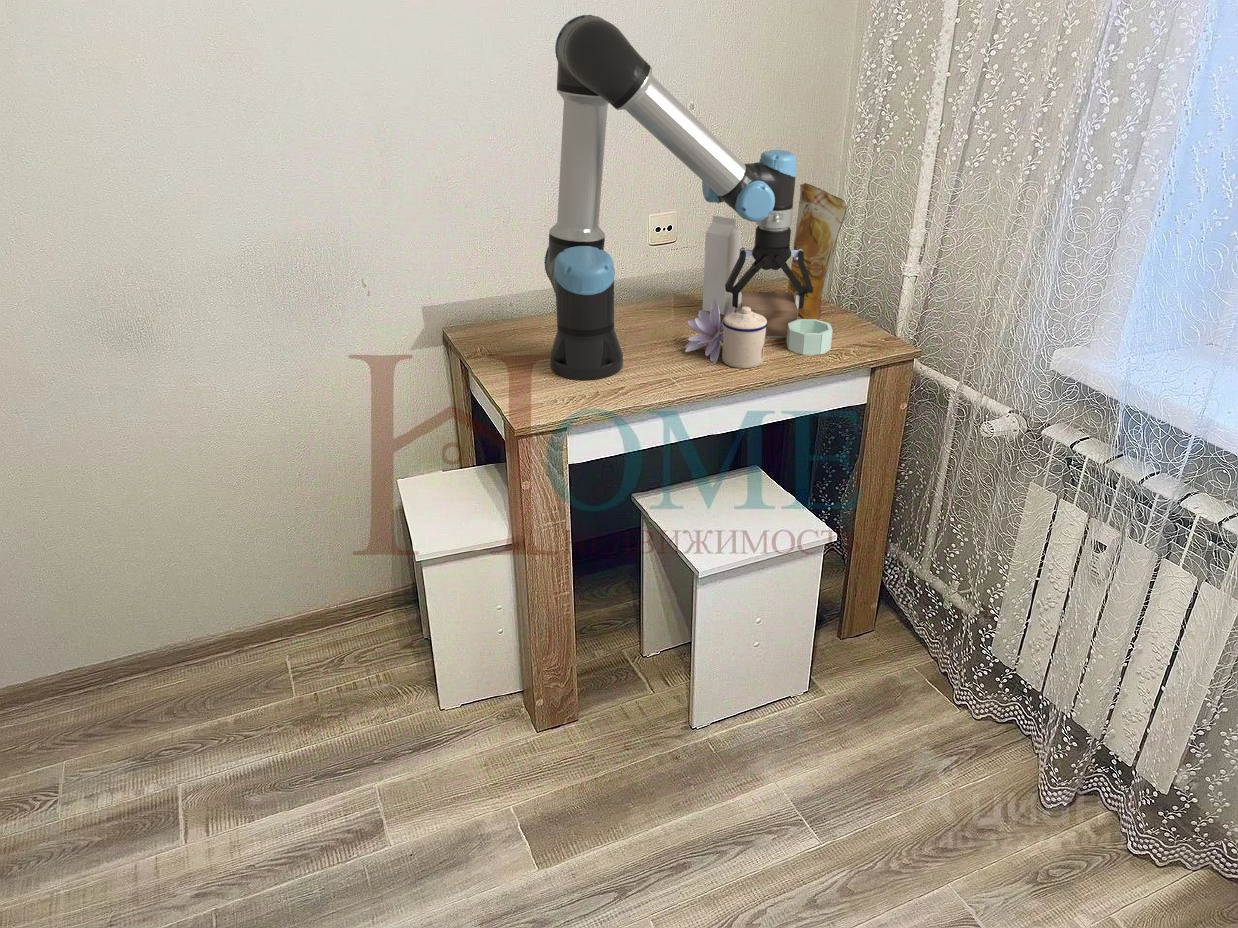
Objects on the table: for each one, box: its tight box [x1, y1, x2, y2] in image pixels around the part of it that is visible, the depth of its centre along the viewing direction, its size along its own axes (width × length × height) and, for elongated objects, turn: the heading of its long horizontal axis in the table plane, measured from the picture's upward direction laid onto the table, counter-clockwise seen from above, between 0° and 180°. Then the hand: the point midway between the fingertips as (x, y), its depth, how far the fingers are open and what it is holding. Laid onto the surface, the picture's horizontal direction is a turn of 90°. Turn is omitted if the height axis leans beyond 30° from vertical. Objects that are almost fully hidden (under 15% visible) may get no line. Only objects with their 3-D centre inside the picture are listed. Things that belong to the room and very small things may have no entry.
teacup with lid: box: [721, 307, 768, 369], centre depth 193 cm, size 12×9×12 cm
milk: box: [702, 215, 742, 316], centre depth 216 cm, size 6×6×22 cm
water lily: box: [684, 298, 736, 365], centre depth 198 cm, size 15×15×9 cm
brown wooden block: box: [740, 291, 799, 336], centre depth 210 cm, size 12×12×6 cm
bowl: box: [785, 318, 834, 356], centre depth 199 cm, size 9×9×5 cm
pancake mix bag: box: [787, 182, 848, 320], centre depth 214 cm, size 7×19×28 cm, turn 14°
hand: (766, 321), depth 211 cm, fingers closed on brown wooden block, 12 cm apart
